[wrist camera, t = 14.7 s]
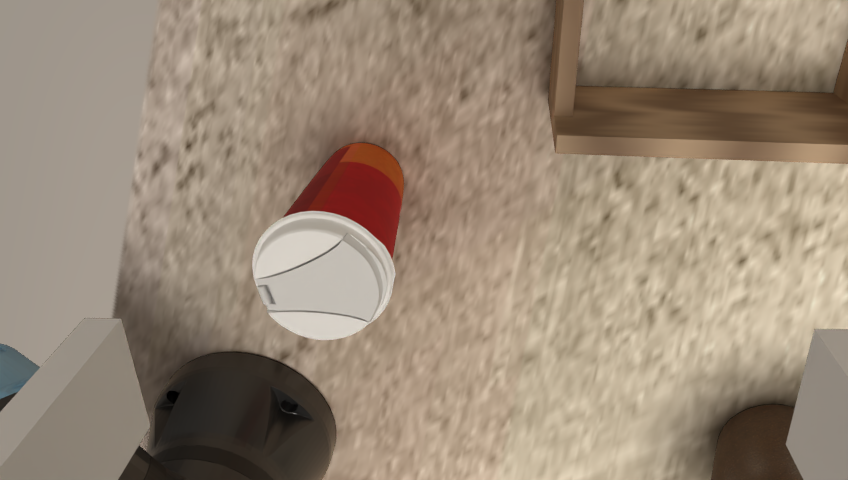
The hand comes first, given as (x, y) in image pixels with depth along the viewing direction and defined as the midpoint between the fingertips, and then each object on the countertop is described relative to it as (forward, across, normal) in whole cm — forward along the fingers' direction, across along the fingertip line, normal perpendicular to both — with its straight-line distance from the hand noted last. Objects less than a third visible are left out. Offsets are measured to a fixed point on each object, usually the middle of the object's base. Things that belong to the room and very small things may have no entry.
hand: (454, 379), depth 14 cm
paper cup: (+35, -8, -10) cm, 37 cm away
